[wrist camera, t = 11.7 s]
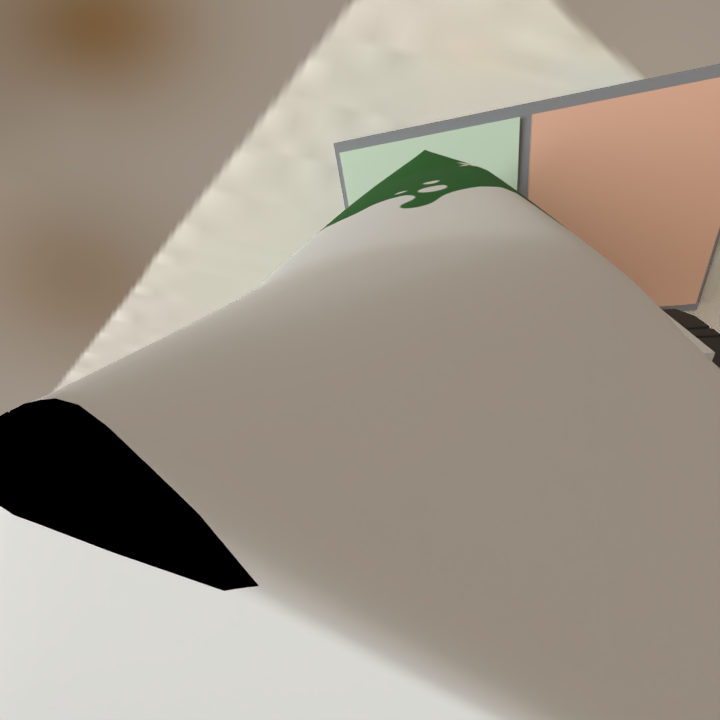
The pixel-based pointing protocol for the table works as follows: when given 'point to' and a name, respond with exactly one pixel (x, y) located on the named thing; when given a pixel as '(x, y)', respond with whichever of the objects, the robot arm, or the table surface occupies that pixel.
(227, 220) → the table surface
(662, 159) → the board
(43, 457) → the soya milk
